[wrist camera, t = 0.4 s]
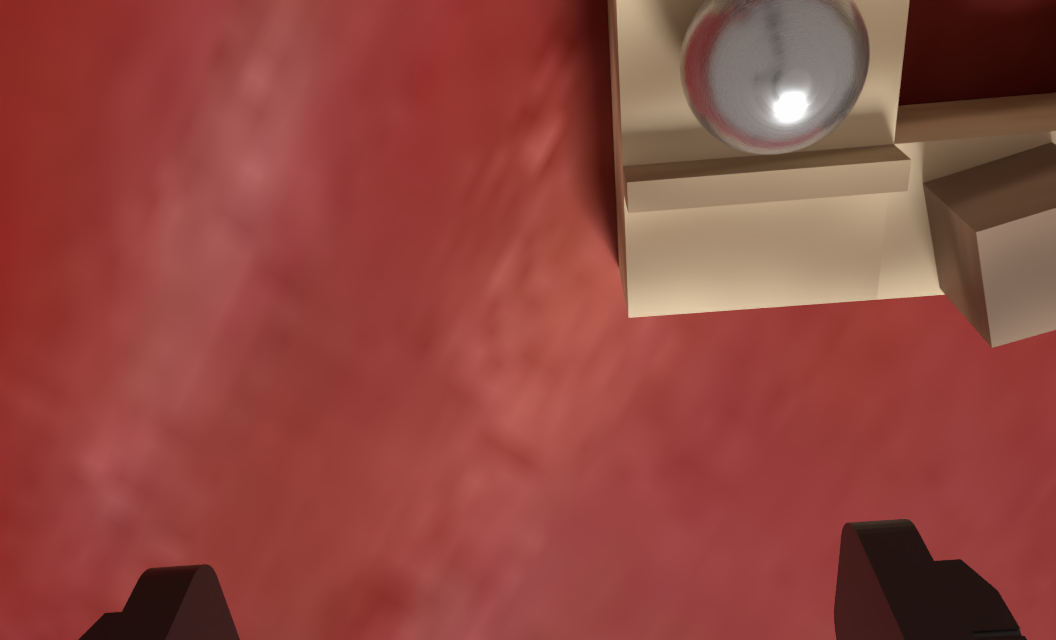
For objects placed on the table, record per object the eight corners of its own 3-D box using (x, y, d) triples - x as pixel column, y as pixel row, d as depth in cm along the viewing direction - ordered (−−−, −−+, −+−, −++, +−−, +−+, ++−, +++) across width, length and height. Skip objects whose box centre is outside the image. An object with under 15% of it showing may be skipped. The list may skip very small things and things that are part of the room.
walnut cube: (922, 183, 29) (976, 232, 25) (1051, 142, 28) (1125, 186, 25) (939, 288, 31) (992, 347, 27) (1061, 252, 30) (1131, 308, 27)
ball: (667, -39, 26) (694, -12, 21) (844, -55, 26) (908, -31, 21) (669, 131, 28) (694, 187, 24) (831, 118, 28) (887, 172, 24)
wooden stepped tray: (595, -290, 26) (613, -325, 20) (1232, -357, 25) (1455, -415, 19) (619, 268, 35) (637, 362, 29) (1097, 232, 34) (1221, 320, 28)
